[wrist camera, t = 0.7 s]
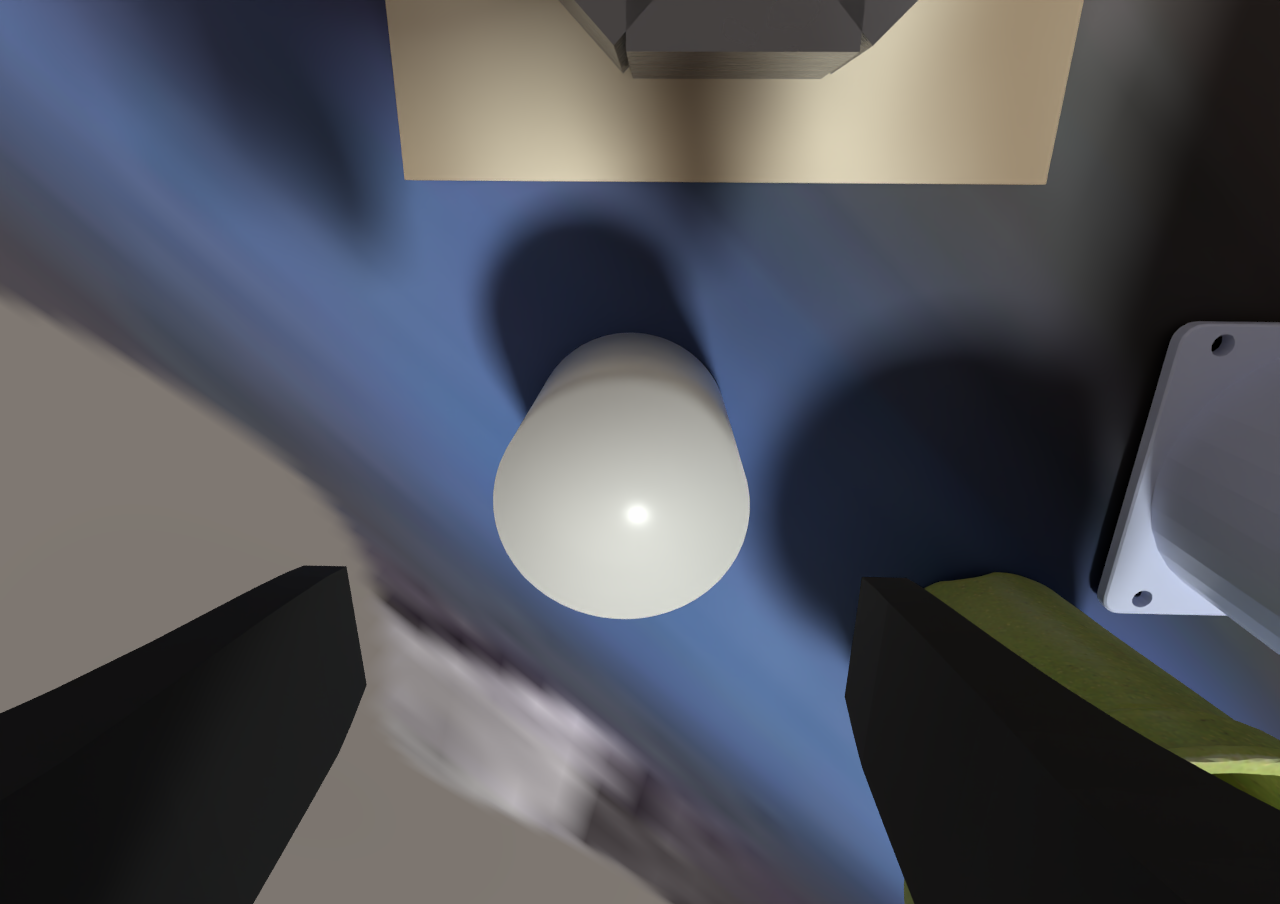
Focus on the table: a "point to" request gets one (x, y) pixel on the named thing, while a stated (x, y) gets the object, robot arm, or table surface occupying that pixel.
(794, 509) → the table surface
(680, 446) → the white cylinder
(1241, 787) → the plant pot
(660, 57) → the lens ring
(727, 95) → the mount plate
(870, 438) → the table surface
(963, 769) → the robot arm
